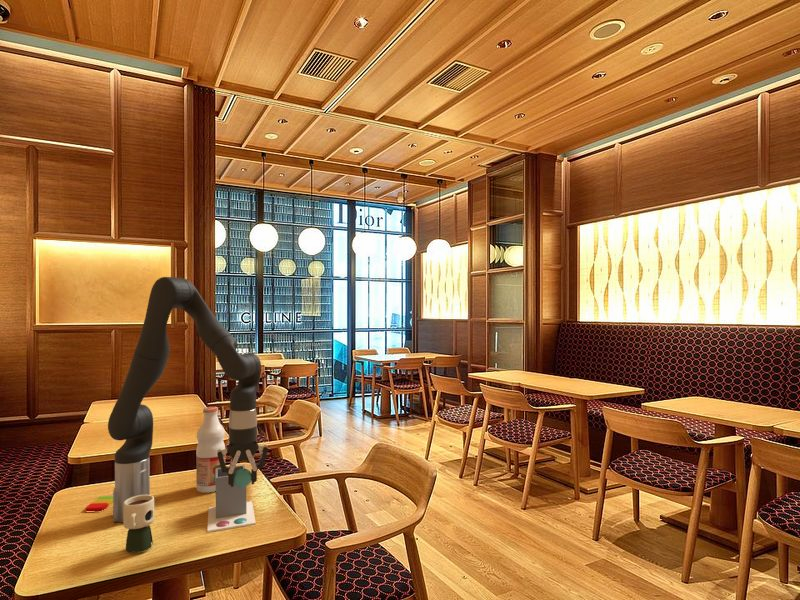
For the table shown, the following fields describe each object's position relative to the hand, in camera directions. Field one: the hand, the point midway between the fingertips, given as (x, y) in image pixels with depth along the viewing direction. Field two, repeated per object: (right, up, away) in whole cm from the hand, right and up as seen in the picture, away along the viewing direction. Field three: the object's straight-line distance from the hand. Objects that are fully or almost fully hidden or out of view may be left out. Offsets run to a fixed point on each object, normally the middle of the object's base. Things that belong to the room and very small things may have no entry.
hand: (242, 484), depth 133 cm
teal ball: (0, +2, 0) cm, 2 cm away
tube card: (-6, -13, +9) cm, 17 cm away
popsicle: (-52, -14, +20) cm, 57 cm away
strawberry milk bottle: (-21, -14, +31) cm, 40 cm away
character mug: (-24, -14, -9) cm, 29 cm away
